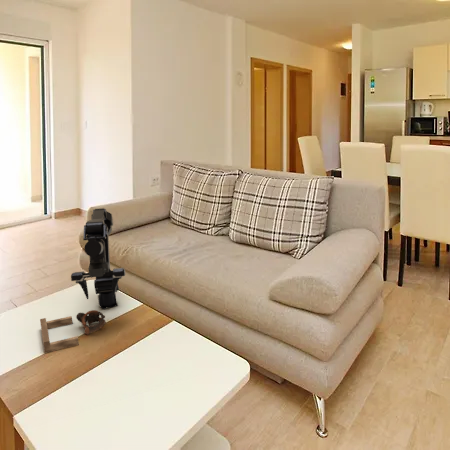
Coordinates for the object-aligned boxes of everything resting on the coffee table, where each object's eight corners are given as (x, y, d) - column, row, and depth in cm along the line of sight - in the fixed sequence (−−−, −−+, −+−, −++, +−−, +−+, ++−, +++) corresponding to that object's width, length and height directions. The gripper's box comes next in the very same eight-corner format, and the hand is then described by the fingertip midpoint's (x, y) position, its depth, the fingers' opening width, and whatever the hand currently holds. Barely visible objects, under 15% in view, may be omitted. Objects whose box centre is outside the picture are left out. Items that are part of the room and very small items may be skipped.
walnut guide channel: (72, 322, 163) (70, 312, 162) (78, 344, 146) (77, 334, 145) (41, 328, 158) (39, 319, 157) (44, 353, 142) (43, 342, 141)
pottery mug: (111, 323, 162) (110, 311, 156) (100, 344, 155) (97, 332, 149) (83, 314, 163) (80, 301, 158) (70, 334, 157) (66, 322, 151)
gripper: (66, 258, 146) (69, 303, 145) (121, 254, 149) (125, 298, 149) (72, 257, 157) (75, 299, 156) (123, 252, 160) (127, 293, 160)
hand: (100, 297), depth 155 cm, fingers open, 9 cm apart
